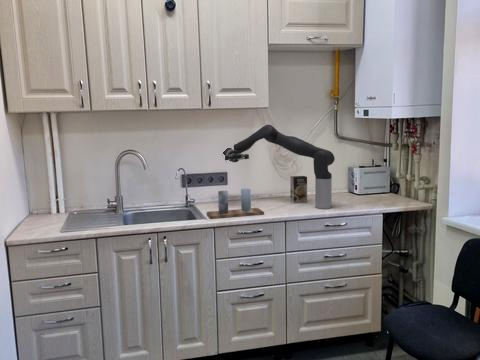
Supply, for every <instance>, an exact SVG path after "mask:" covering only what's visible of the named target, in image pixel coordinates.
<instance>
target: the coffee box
mask: <svg viewBox="0 0 480 360" xmlns="http://www.w3.org/2000/svg"><path fill="white" fill-rule="evenodd" d="M289 177H290V178H289V179H290V183H289V184H290V185H289V186H290V193H289V194H290V195H289V198H290V202H291V203H293V204H298V203H307V202H308V176H306V175H293V176H292V175H291V176H289Z"/></svg>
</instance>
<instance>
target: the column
mask: <svg viewBox="0 0 480 360" xmlns="http://www.w3.org/2000/svg"><path fill="white" fill-rule="evenodd" d="M251 197H252V196H251V188H241V189H240V199H241V200H240V203H241V209H242V211H244V212H248V211H251V208H252V205H251V204H252V199H251Z"/></svg>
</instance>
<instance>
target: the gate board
mask: <svg viewBox="0 0 480 360" xmlns="http://www.w3.org/2000/svg"><path fill="white" fill-rule="evenodd" d="M217 195H218V197H217V199H218V210H214V211H213V210H212V211H206V216H207V217H208V218H209V219H210V220H215V219H225V218H227V219H228V218H239V217H240V218H241V217H251V216H263V215H265V212H264V211H263V210H262V209H261V208H259V207H251V211H248V212H244V211H242V208H238V209H237V208H236V209H229V198H228V197H229V196H228V190H219V191H218V192H217Z"/></svg>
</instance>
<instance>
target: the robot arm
mask: <svg viewBox="0 0 480 360" xmlns="http://www.w3.org/2000/svg"><path fill="white" fill-rule="evenodd" d="M263 139H264V140H265V141H266V142H268V143H270V144H274V145H277V146H280V147H282V148H283V149H285V150H287V151H289V152H290V153H292V154H296V155H298V156H303V157H308V158H312V159H313V173H314V175H315V181H314V182H315V184H314V185H315V187H314V188H315V189H314V190H315V208H316V209H325V210H326V209H331V208H332V207H333V206H332V202H333V201H332V195H333V194H332V193H333V192H332V191H333V189H332V179H333V177H332V176H333V175H332V173H331V172H329V166H331V165H332V164H333V163H334V162H335V160H336V159H335V155H334V154H333V152H332V151H331V150H328V149H325V148H323V147H317V146H315V145H313V144H312V143H310V142H307V141H305V140H303V139H301V138H299V137H296V136H292V135H286V134H283V133H282V132H280V131H278V130H277V129H276V128H275V127H274V126H273V125H271V124H266V125H264V126H262V127H261V128H259V129H258V130H257V131H255V132H254V133H252V134H251V135H249V136H248V137H246V138H245V139H243V140H241V141H239V142H237V144H236V143H234V145H233V148H232V147H231V148H227V149H226V150H225V151H224V152H223V154H224V155H225V159H224V160H225V161H226V160H229V161H230V162H231V163H237V162H239V161H240V160H243V161H244V160H249V159H250V154H248V153H244V152H247V151H248V150H250V149H251V148H252V147H253V146H254V145H255V144H256V143H257V142H259V141H260V140H263Z"/></svg>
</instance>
